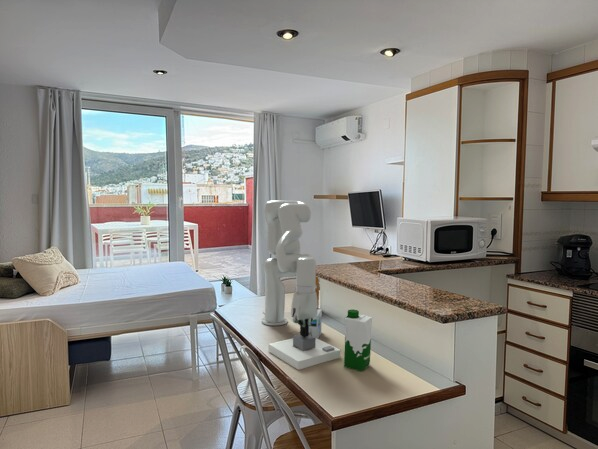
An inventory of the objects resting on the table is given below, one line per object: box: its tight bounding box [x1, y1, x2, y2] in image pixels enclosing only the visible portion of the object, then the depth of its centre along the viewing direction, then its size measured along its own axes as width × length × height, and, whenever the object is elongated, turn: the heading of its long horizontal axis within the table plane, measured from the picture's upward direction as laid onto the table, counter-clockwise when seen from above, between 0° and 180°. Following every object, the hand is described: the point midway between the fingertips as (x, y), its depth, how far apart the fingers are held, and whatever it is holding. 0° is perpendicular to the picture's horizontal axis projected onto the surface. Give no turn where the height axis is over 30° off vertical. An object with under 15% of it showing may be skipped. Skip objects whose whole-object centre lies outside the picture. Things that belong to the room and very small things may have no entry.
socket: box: [267, 337, 342, 370], centre depth 153 cm, size 20×20×4 cm
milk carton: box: [343, 309, 373, 372], centre depth 143 cm, size 9×9×20 cm
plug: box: [292, 333, 316, 351], centre depth 152 cm, size 6×6×6 cm
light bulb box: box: [309, 308, 323, 340], centre depth 174 cm, size 11×7×11 cm, turn 168°
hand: (304, 335), depth 152 cm, fingers closed
